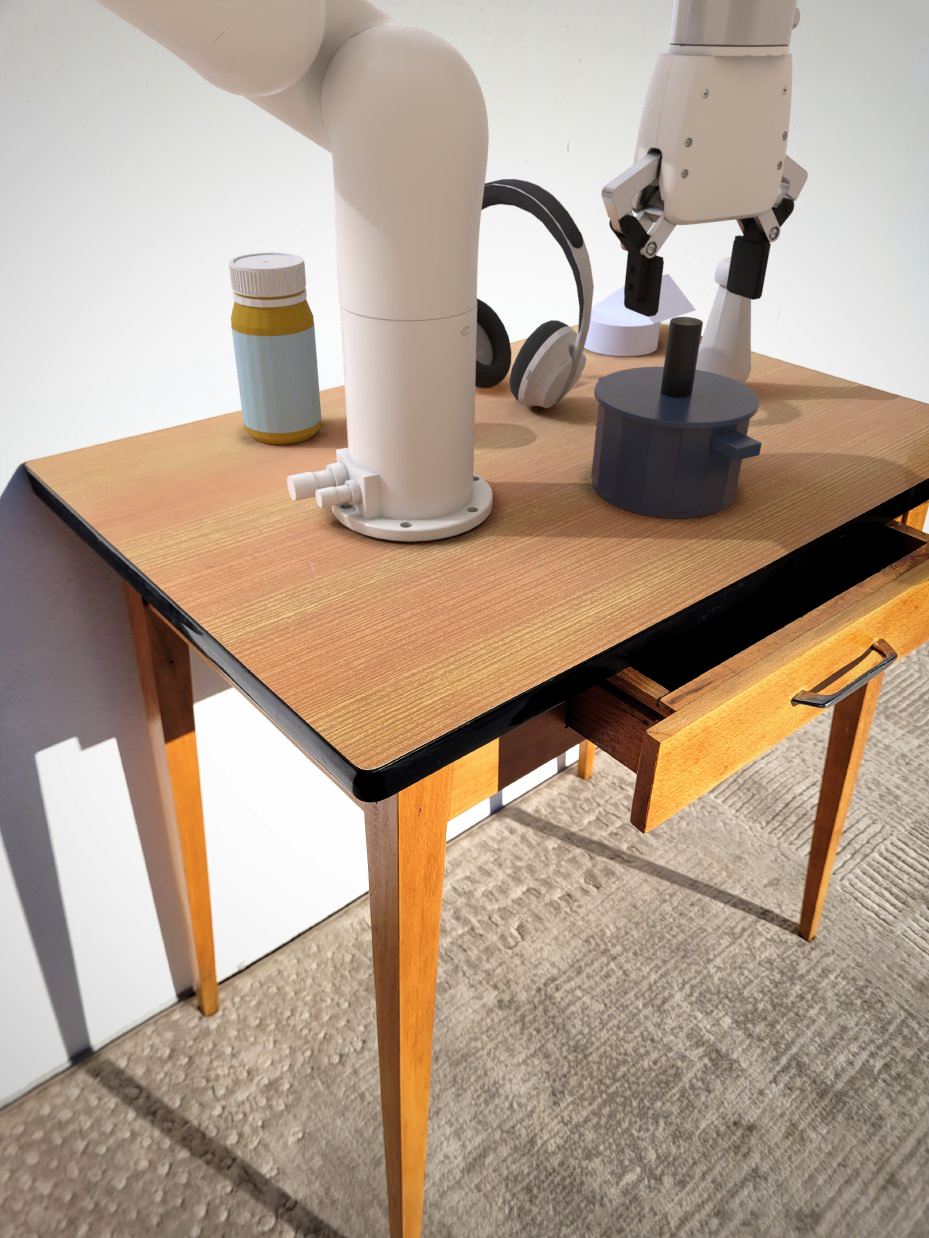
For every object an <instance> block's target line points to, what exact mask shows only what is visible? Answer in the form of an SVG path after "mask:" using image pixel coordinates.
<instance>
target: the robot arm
mask: <svg viewBox="0 0 929 1238" xmlns="http://www.w3.org/2000/svg"><path fill="white" fill-rule="evenodd" d="M94 1H95V2H96V3H97V4H99V5H100V6H102V7H104V9H106V10H108V11H109V12H111V13H113V14H114V15H116V16H117V17H118V18H120V19H122V20H123V21H125V23H128V24H129V25H130V26H132V27H134V28H135V29H137V30H138V31H140V32H141V33H142V34H144V35H145V36H147V37H149V38H150V39H152V40H153V41H154V42H156V43H157V44H159V45H161V46H162V47H163V48H164V49H166V50H167V51H169V52H170V53H171V54H173V55H174V56H176V57H177V58H178V59H180V61H182V62H183V63H185V64H186V65H187V66H188V67H190V68H191V69H192V70H193V71H194V72H195V73H196V74H198V75H199V77H201V78H202V79H203V80H205V81H206V82H208V83H210V84H211V85H213V86H214V87H216V88H218V89H219V90H223V91H224V92H227V93H230V94H233V95H235V96H242V97H243V98H244V99H246V100H248V101H249V102H251V103H253V104H254V105H256V106H258V107H259V108H260V109H262V110H263V111H265V112H267V113H268V114H270V115H271V116H273V117H274V118H275V119H278V121H280V122H282V123H283V124H285V125H286V126H288V127H290V128H291V129H293V130H294V131H296V132H297V133H299V134H300V135H301V136H304V137H305V138H307V139H308V140H309V141H311V142H313V143H314V144H316V145H317V146H319V147H320V148H322V149H324V150H325V151H327V152H328V153H330V154H331V156H332V157H331V159H332V172H333V195H334V222H335V223H334V225H335V226H334V229H335V231H334V232H335V253H336V254H335V255H336V274H337V275H336V276H337V292H338V304H339V312H340V313H339V314H340V315H339V316H340V329H341V331H340V333H341V347H342V348H341V349H342V364H343V365H342V366H343V381H344V397H345V401H344V402H345V415H346V416H345V417H346V433H347V434H346V435H347V447H344V448H338V449H336V450H335V455H336V462H333V463H329V464H328V463H327V464H326V467H325V469H322V470H317V471H311V470H310V471H306V472H301V473H296V474H290V475H288V476H287V478H286V486H287V490H288V494H289V496H290V498H291V500H292V501H293V502H299V501H303V500H307V499H313V498H315V499H316V500H315V501H316V504H317V506H318V508H319V509H325V508H329V507H331V511H332V513H333V516H334V517H335V518H336V519H337V520H338V521H339V522H340V523H341V525H343V526H345V527H346V528H348V529H350V530H351V531H354V532H356V533H359V534H361V535H363V536H366V537H371V538H374V539H379V540H385V541H393V542H411V543H412V542H428V541H429V542H430V541H437V540H443V539H446V538H451V537H455V536H458V535H460V534H463V533H466V532H469V531H471V530H472V529H474V528H475V527H478V526H479V525H480V524H482V523H483V522H484V521H485V520H487V518H488V517H489V515H490V514H491V512H492V510H493V504H494V503H493V502H494V499H493V498H494V496H493V494H494V493H493V490H492V487H491V485H490V484H489V483H488V482H487V480H486V479H484V478H483V477H482V476H481V475H479V474H478V473H476V472H474V465H475V464H474V462H475V423H476V422H475V420H476V419H475V418H476V417H475V416H476V415H475V414H476V388H475V378H476V332H477V298H478V270H479V269H478V267H479V247H480V246H479V245H480V230H481V229H480V228H481V220H482V219H481V217H482V211H481V209H482V201H483V193H484V186H485V183H486V179H487V178H486V177H487V169H488V158H489V141H490V139H489V137H490V135H489V134H490V133H489V131H490V130H489V119H488V111H487V106H486V100H485V97H484V93H483V90H482V88H481V85H480V83H479V80H478V77H477V76H476V73H475V72H474V70H473V68H472V67H471V65H470V63H469V62H468V61H467V59H466V58H465V57H464V56H463V54H462V53H461V52H460V51H459V50H458V49H457V48H456V47H455V46H454V45H453V44H452V43H450V42H449V41H447V40H446V39H445V38H443V37H441V36H440V35H438V34H436V33H434V32H432V31H430V30H427V29H424V28H419V27H416V26H415V27H414V26H407V25H406V26H405V25H403V24H401V23H400V22H398V21H397V20H396V19H394V18H393V17H392V16H391V15H388V14H387V13H386V12H384V11H383V10H382V9H381V8H379V7H378V6H376V5H375V4H374V3H372V2H371V1H370V0H94ZM797 2H798V0H673V3H672V5H673V6H672V13H671V14H672V15H671V25H670V31H669V32H670V34H669V43H668V51H667V53H666V52H663V53H657V56H656V59H655V62H654V64H653V68H652V72H651V74H650V77H649V82H648V85H647V89H646V93H645V97H644V102H643V107H642V111H641V116H640V121H639V126H638V131H637V139H636V145H635V150H634V157H633V163H632V165H631V166H630V167H628V168H627V169H626V170H624V171H623V172H621V173H620V174H618V175H617V176H616V177H615V178H613V179H612V180H610V181H609V182H608V183H607V184H605V185H604V186H603V188H602V189H601V195H600V196H601V199H602V202H603V206H604V209H605V211H606V215H607V217H608V218H609V223H608V224H609V228H610V230H611V231H612V232H613V234H614V235H615V236H616V238H617V239H618V240H619V242H620V244H619V245H620V248H621V249H622V250H623V251H625V252H627V257H626V266H625V267H626V269H625V278H624V286H625V287H624V306H625V307H626V308H627V309H629V310H632V311H634V312H637V313H639V314H642V315H644V316H647V317H650V316H655V315H656V314H657V313H658V309H659V300H660V291H661V283H662V275H664V266H665V265H664V264H665V261H664V257H663V256H659V255H657V254H658V253H659V251H660V250H661V248H662V247H663V245H664V244H665V243H666V241H667V240H668V238H669V237H670V235H671V234H672V232H673V231H674V229H675V228H676V226H690V225H691V226H692V225H701V224H708V223H709V224H710V223H718V222H725V221H726V222H728V221H735V220H736V223H737V224H738V226H739V229H740V232H741V233H742V235H740V234H739V235H735V236H734V240H733V244H732V248H731V255H730V257H731V261H730V267H729V274H728V280H727V290H728V291H729V292H731V293H734V294H737V295H740V296H743V297H746V298H749V299H751V301H754V300H760V299H761V298H762V295H763V292H764V285H765V281H766V275H767V274H766V273H767V268H768V263H769V257H770V252H771V246H772V243H774V242H776V241H777V240H778V239H779V238H780V235H781V227H782V226H783V225H784V224H785V222H786V221H787V220H788V219H789V217H790V216H791V215H792V213H794V210H795V202H796V201H797V199H798V198H799V196H800V194H801V192H802V190H803V188H804V186H805V185H806V183H807V181H808V177H809V175H808V171H807V170H806V169H805V168H804V167H802V166H801V165H800V164H799V163H798V162H797V161H796V160H794V159H792V158H791V157H790V156H789V155H787V148H788V140H789V132H790V122H791V112H792V110H791V109H792V97H793V96H792V95H793V93H792V92H793V54H792V53H789V51H790V44H791V39H792V33H793V31H794V30H795V29H796V28H797V26H798V25H799V23H800V20H801V12H800V9H799V8H798V7H797V4H798V3H797ZM634 213H635V214H636V216H635V215H634Z"/></svg>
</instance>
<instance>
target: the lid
mask: <svg viewBox="0 0 929 1238" xmlns="http://www.w3.org/2000/svg"><path fill="white" fill-rule="evenodd" d="M703 326H704V322H703V320H701V319H699V318H696V317H690V316H676V317H673V318H670V319H669V326H668V327H669V328H668V333H667V334H668V335H667V341H666V348H665V354H664V355H665V357H664V365H663V366H643V367H633V368H627V369H621V370H617V371H614V372H610V373H609V374H606V375H604V376H602V377H603V378H601V379H600V380H599V379H598V380H597V382H596V383H595V386H594V390H593V393H594V398H595V401H596V402H597V404H600V405H601V406H602V407H604V408H605V409H607V410H608V411H610V412H612V413H614V414H616V415H618V416H621V417H624V418H626V419H630V420H633V421H636V422H640V423H644V424H649V425H654V426H661V427H669V428H680V429H709V428H719V427H726V426H731V425H735V424H739V423H741V422H744V421H746V420H748V419H750V420H751V419H752V418H753V417H754V416H755V415H756V414H757V413H758V411H759V408H760V397H759V395H758V394H757V392H755V390H754V389H752V388H751V387H749V386H748V385H746V384H745V383H744V384H743V383H741V382H739V381H736V380H734V379H731V378H729V377H725V376H722V375H719V374H715V373H711V372H706V371H701V370H696V365H697V358H698V352H699V346H700V343H701V340H702V331H703Z"/></svg>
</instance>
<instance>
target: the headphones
mask: <svg viewBox="0 0 929 1238" xmlns="http://www.w3.org/2000/svg"><path fill="white" fill-rule="evenodd" d="M498 205H499V206H500V205H504V206H510V207H511V206H513V207H516V208H517V209H520V210H523V211H525V212H527V213H529V214H531V215H533V217H535V218H536V219H537V220H538V221H539V222H541V223H542V224H543V225H544V227H545V229H547V231H548V232H549V233H550V234H551V236H552V237H553V239H554V240H555V241H556V242H557V244H558V245H559V246H560V248H561V249H562V251H563V253H564V256H565V258H566V261H567V263H568V264H569V265H568V266H569V267H570V269H571V271H572V274H573V278H574V281H575V285H576V292H577V299H578V307H579V308H578V327H577V328H578V330H577V332H576V330H575V329H574V328H573V327H572V326H570V325H569V324H567V323H566V322H563V321H560V320H555V319H554V320H553V319H551V320H548V321H545V322H543V323H541V324H540V325H539V326H538V327H536V328H535V329H534V331H533V332H531V334H530V335H529V336H528V337H527V338H526V340H525V341H524V343H523V344H522V346H521V347H520V349H519V351H518V353H517V355H516V357H515V360H514V362H513V364H512V347H511V341H510V337H509V336H510V335H509V334H508V330H507V329H506V327H505V324H504V322H503V321H502V319H501V318H500V316H499V315H498V313H497V312H496V311H495V310H494V308H492V307H491V306H490V305H489V304H488V303H486V301H483V300H481V299H480V298H478V297H477V332H476V378H475V389H476V390H477V389H478V390H487V389H492V388H495V387H497V386H498V385H499V384H501V383H502V382H503V381H504V380H505V379H506V377H507V375H508V374H509V372H510V376H509V381H508V382H509V389H510V393H511V394H512V396H513V398H514V399H515V400H516V401H517V402H519V404H521V405H522V406H524V407H526V408H532V407H542V408H545V409H549V408H552V407H553V406H554V405H555V404H557V403H559V402H560V401H562V400H563V398H564V397H566V396H567V395H568V394H569V393H570V392H571V390H573V388H574V386H575V385H576V384H577V383H578V381H579V379H580V377H581V376H582V373H583V371H584V369H585V367H586V363H587V356H586V354H585V353H584V349H585V348H584V346H585V342H586V338H587V334H588V330H589V326H590V318H591V309H592V307H593V300H594V299H593V298H594V289H595V286H594V277H593V270H592V263H591V260H590V255H589V251H588V248H587V246H586V243H585V240H584V237H583V233H582V232H581V231H580V229H579V227H578V225H577V224H576V222H575V221H574V219H573V217H572V216H571V214H570V213H569V211H568V210H567V209H566V207H564V205H563V204H562V203H561V201H560V200H559V199H558V198H556V196H554V195H553V194H552V193H551V192H550V191H548V190H546V189H545V188H543V187H541V185H538V184H536V183H533V182H531V181H527V180H522V179H517V178H502V179H498V180H493V181H489V182H485V186H484V193H483V201H482V209H481V212H482V211H483V210H486V209H487V208H489V207H492V206H493V207H494V206H498ZM510 369H511V370H510Z"/></svg>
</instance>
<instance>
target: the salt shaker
mask: <svg viewBox="0 0 929 1238" xmlns="http://www.w3.org/2000/svg"><path fill="white" fill-rule="evenodd" d="M730 261H731V256H727V257H724V258H722V259H720V260H719V261H718V262H717V265H716V268H715V270H714V283H716V284H717V285H718V288H717V291H716V294H715V297H714V301H713V303H712V306H711V310H710V313H709V315H708V318H707V322H706V326H705V328H704V331H703V334H702V336H701V339H700V345H699V352H698V358H697V365H696V370H701V371H706V372H711V373H715V374H719V375H722V376H725V377H729V378H731V379H734V380H736V381H739V382H741V383H743V384H745V383H746V382H747V381H748V379H749V377H750V375H751V371H752V299H749V298H746V297H743V296H740V295H737V294H734V293H731V292H729V291H728V290H727V280H728V274H729V267H730Z"/></svg>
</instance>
